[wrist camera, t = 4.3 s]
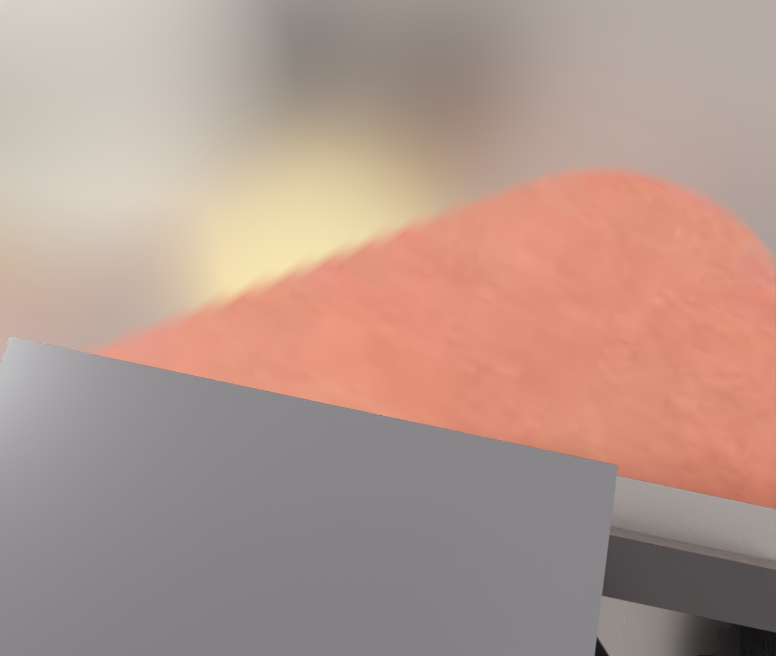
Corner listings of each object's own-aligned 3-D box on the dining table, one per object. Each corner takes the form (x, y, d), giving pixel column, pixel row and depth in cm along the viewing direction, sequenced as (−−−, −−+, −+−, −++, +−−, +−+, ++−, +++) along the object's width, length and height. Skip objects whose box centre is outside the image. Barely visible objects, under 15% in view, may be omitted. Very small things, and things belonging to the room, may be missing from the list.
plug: (398, 611, 15) (520, 1263, 3) (236, 577, 16) (-253, 1094, 3) (429, 446, 16) (617, 465, 4) (276, 413, 16) (10, 337, 4)
